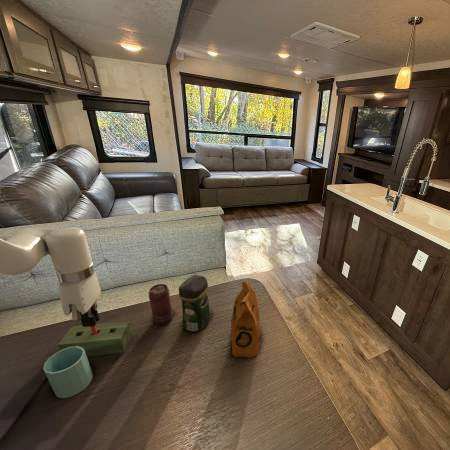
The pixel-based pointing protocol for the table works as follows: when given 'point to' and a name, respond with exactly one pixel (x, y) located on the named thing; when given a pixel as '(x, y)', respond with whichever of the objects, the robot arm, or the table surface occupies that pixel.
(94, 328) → the straw
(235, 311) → the coffee package
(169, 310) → the can
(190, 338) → the table surface
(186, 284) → the coffee jar
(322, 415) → the table surface
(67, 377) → the tumbler
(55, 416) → the table surface
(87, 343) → the straw holder
